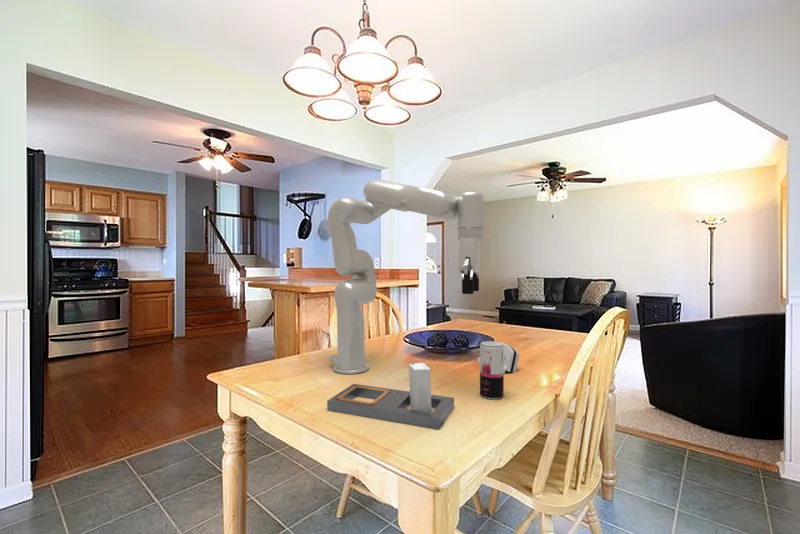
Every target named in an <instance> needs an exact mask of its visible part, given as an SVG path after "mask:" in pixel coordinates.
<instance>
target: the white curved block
mask: <svg viewBox="0 0 800 534" xmlns="http://www.w3.org/2000/svg"><path fill="white" fill-rule="evenodd" d="M496 342H499V341H496ZM500 342H501V343H503V346H504V375H505V373H506V371H507V372H511V373H512V374H513V373H514V374H516V372H517V367H518V361H519V357H520V354H519V352H518V350H516V348H515V347H513V346H512V345H509V344H507V343H506V342H502V341H500ZM476 362H477V363H478V364H480V356H478V359H477V361H476Z"/></svg>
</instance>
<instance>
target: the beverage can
mask: <svg viewBox="0 0 800 534" xmlns="http://www.w3.org/2000/svg"><path fill="white" fill-rule="evenodd" d="M501 342H502V341H498V342H496V341H495V340H485V341H481V342H480V344H479V357H480V363H479V394H480V396H481V397H482V398H484V399H487V398H488V399H487V400H500V399H502V398H503V397H504V393H505V392H504V389H505V387H504V383H505V382H504V378H505V377H504V375H505V374H504V346H503V343H504V342H503V343H501ZM501 397H502V398H501ZM499 398H500V399H499Z"/></svg>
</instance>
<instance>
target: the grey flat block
mask: <svg viewBox="0 0 800 534" xmlns="http://www.w3.org/2000/svg"><path fill="white" fill-rule="evenodd" d="M358 397H360V398H364V399H365V398H367V399H373V401H372V402H369V401H362V400H357V399H356V398H358ZM409 404H410V390H409V391H407V390H400V389H396V388H395V389H394V388H386V387H379V386H371V385H364V384H358V383H352V384H350V385H349V386H348V387H346V388H344V389H343V390H342V391H340V392H339V393H337V394H335V395H334V396H332V397H331V398H329V399H328V400H327V401H326V410H327V411H330V412H335V413H342V414H345V415H346V414H348V415H352V416H353V415H354V416H358V417H364V418H370V419H374V420H375V419H377V420H383V421H387V422H392V423H393V422H394V423H399V424H406V425H412V426H417V427H422V428H423V427H424V428H427V429H434V430H440V429H441V427H442V426H443V424H445V422H446V419H448V417H449V415H450V414H451V413H452V410H453V409H454V408H453V407H455V398H454V397H452V396H445V395H437V394H431V407H432V408H431V409H434V410H433V411H432V413H429V412H423V411H416V410H411V408H410V409H409V408H408V407H410V405H409Z"/></svg>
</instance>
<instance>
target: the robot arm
mask: <svg viewBox="0 0 800 534" xmlns="http://www.w3.org/2000/svg"><path fill="white" fill-rule="evenodd" d="M362 192H363V197H364V199H365V200H362V199H358V198H354V197H349V196H348V197H347V196H346V197H345V196H344V197H341V198H338V199H336V200H335V201H334V202H333V203H332V204H331V206H330V207H329V210H328V213H327V224H328V230H329V234H330V239H331V247H332V257H333V263H334V268H335V271H336V273H338V275H340V276H342V277H343V276H345V277H350V276H352V279H345V280H343V281H341V282H339V283H338V284H337V286H335V289H334V292H333V296H334V302H335V303H334V304H335V307H336V316H337V317H336V327H337V328H336V329H337V332H336V333H337V335H336V336H337V338H336V339H337V355H335V354H334V355H333V354H330V355H329V358H328V362H333V363H334V365H333V366H332V370H333V371H334V372H335V373H338V374H343V375H344V374H345V375H351V374H352V375H353V374H359V373H360V374H361V373H363V372H364V373H365V372H366V371H368V370H369V369H370V364H369V363H368V362H366V361H365V360H366V357H365V354H366V352H365V351H366V350H365V349H366V348H365V347H366V345H365V341H366V340H365V337H366V336H365V331H366V329H365V315H364V312H363V308H362V305H367V304H370V303H372V302H373V301H374V300H375V299H376V297H377V293H378V292H377V291H378V289H377V288H378V287H377V279H376V272H375V265H374V260H373V258H372V256H371V254H370V253H368V251H366V250H364V249H358V246H357V239H356V235H355V232H354V230H353V228H352V226H351V224H358V225H368V224H371V223H372V222H374V221H376V220H377V219H378V218H381V216H383V215H384V214H386V213H387V212H388V211H389V212H390V210H396V211H400V212H403V213H404V212H405V213H407V212H412V213H417V214H422V215H427V216H431V217H434V218H438V219H442V220H450V221H451V220H456V219H457V240H459V250H458V272H459V273H461V274H462V275H461V278H462V279H461V293H462V294H463V295H473V294H474V292H478V291H479V290H480V278H479V272H480V271H481V270H480V269H481V242H480V241H481V240H484V235H485V234H484V212H485V211H484V207H485V206H484V203H485V201H484V200H485V199H484V195H483V193H482V192H479V191H466V192H465V191H464V192H461V193H459V194H458V195H453V194H450V193H448V192H444V191H440V190H436V189H432V188H431V189H430V188H426V187H419V186H413V185H411V184H410V185H409V184H403V183H398V182H392V181H387V180H384V179H383V180H381V179H371V180H369V181H368V182H367V183H366V184H365V185H364V186H363V191H362Z"/></svg>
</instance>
